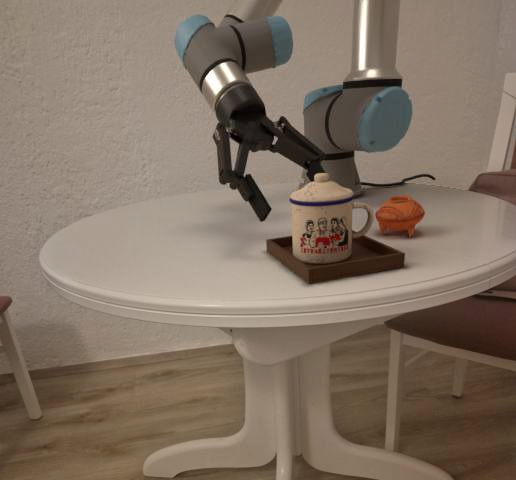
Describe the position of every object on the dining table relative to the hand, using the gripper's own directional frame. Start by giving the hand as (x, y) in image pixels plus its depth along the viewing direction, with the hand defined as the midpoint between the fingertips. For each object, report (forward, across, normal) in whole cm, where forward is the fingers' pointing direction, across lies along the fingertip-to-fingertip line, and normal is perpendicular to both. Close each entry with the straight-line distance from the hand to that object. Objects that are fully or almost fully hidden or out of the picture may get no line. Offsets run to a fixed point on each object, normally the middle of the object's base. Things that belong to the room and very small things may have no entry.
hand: (300, 207), depth 74 cm
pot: (+9, -17, -1) cm, 19 cm away
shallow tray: (+9, 0, 0) cm, 9 cm away
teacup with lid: (+9, 0, 0) cm, 9 cm away
